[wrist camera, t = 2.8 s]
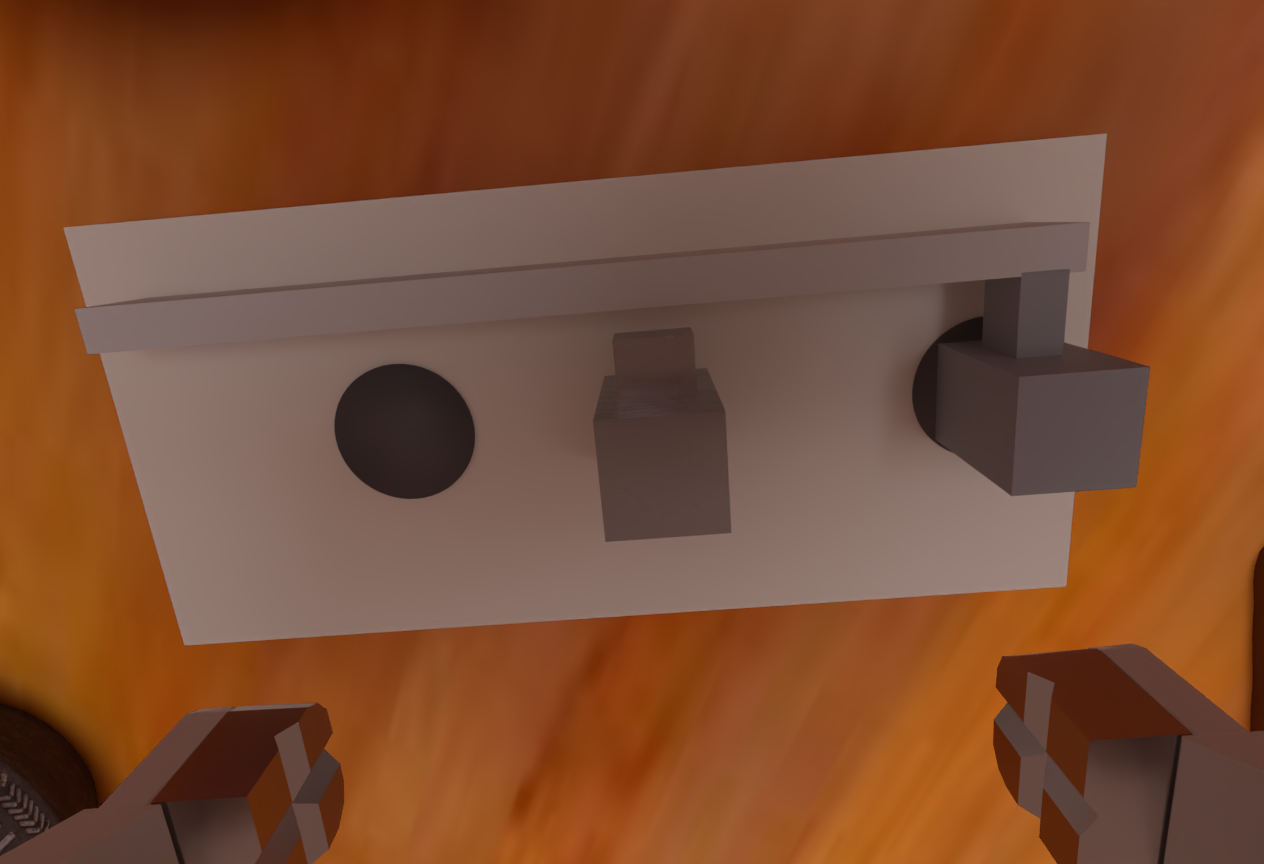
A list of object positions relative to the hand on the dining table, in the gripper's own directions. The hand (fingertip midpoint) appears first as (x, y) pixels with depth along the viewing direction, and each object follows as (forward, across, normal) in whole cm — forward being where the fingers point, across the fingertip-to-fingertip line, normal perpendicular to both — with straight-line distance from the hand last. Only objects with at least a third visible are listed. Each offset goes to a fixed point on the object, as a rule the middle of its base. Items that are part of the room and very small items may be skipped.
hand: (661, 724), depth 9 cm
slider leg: (+14, 0, -1) cm, 14 cm away
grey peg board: (+16, +2, 0) cm, 16 cm away
